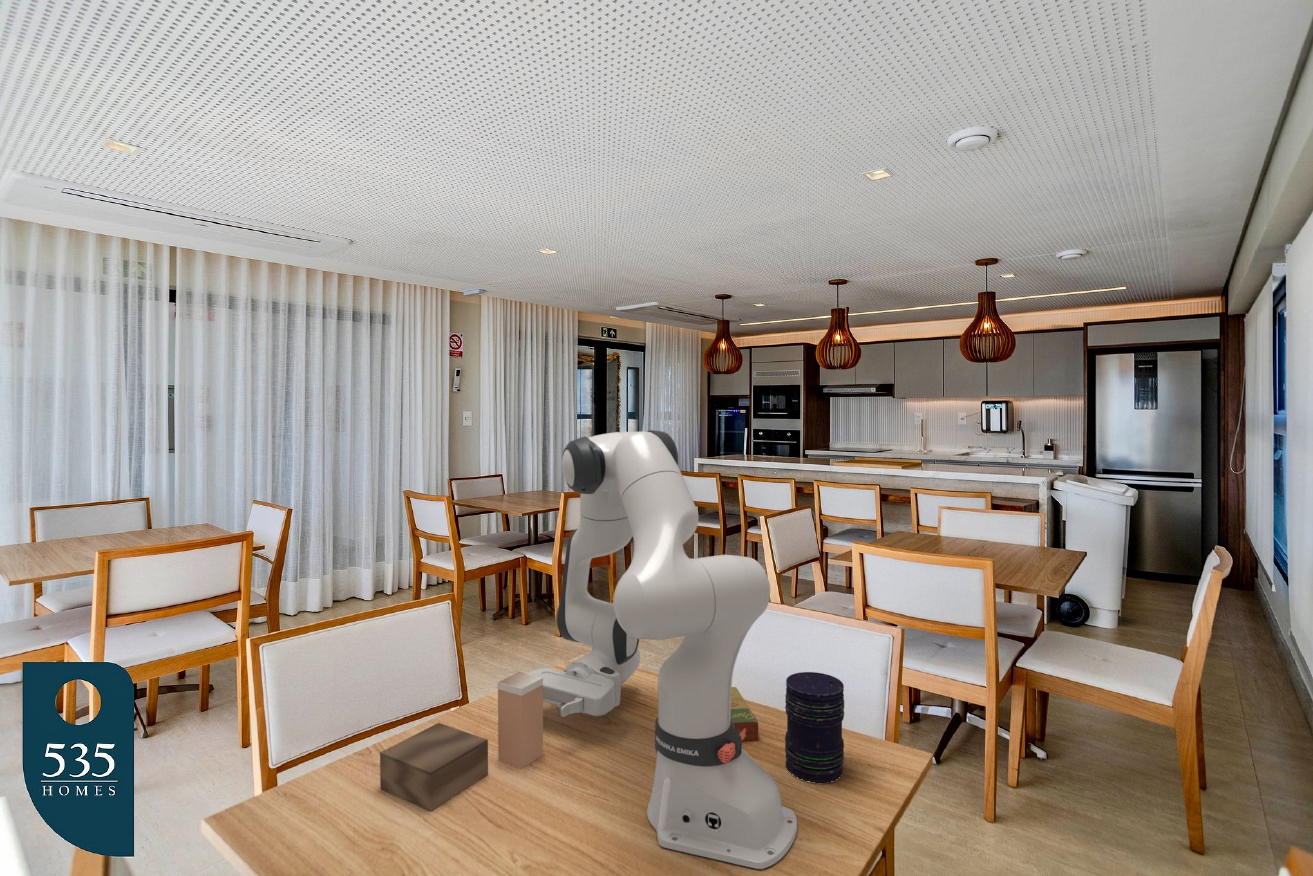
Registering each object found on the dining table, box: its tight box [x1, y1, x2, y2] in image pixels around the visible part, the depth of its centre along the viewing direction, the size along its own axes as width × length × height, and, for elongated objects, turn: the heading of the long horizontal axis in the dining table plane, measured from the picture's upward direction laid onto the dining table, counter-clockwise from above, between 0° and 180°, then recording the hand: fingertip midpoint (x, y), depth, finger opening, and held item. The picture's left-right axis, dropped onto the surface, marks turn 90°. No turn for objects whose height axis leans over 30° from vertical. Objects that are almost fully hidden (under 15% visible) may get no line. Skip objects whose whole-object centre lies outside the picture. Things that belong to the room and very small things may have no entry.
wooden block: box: [379, 722, 489, 812], centre depth 108 cm, size 12×12×6 cm
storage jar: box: [784, 671, 845, 783], centre depth 112 cm, size 10×10×15 cm
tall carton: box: [497, 671, 544, 770], centre depth 116 cm, size 6×6×14 cm
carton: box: [730, 686, 759, 742], centre depth 129 cm, size 8×16×4 cm, turn 8°
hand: (539, 706), depth 120 cm, fingers open, 8 cm apart
